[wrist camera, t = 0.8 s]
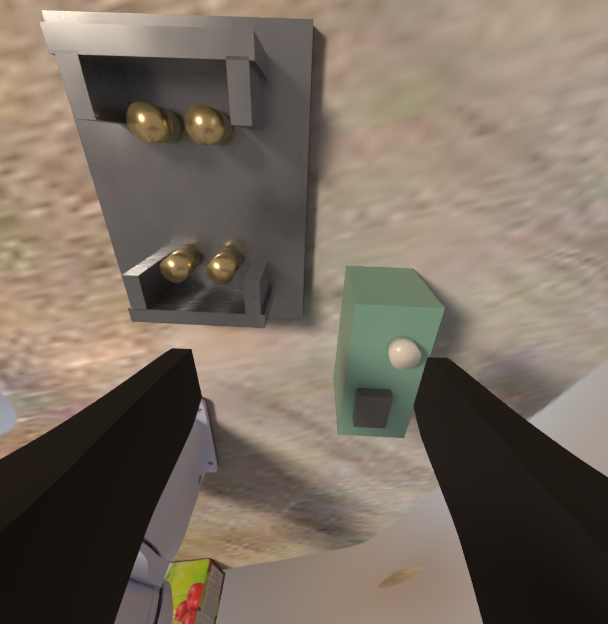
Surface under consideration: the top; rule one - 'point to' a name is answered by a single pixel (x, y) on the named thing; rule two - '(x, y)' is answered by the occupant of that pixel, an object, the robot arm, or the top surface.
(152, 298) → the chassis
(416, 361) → the green knobbed block
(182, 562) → the snack box
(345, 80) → the top surface
